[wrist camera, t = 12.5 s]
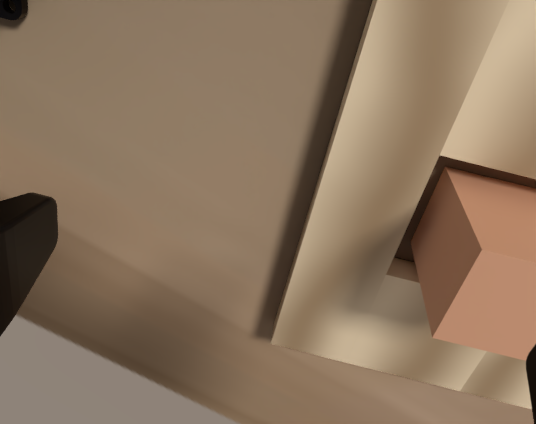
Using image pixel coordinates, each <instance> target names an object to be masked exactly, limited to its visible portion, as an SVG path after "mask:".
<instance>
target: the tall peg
mask: <svg viewBox="0 0 536 424" xmlns="http://www.w3.org/2000/svg"><path fill="white" fill-rule="evenodd" d="M411 246H412V251H413V255H414V260H415V264H416V268H417V273H418V277H419V282H420V286H421V290H422V295H423V299H424V304H425V308H426V312H427V317H428V321H429V325H430V330H431V334H432V338H435V339H439V340H443V341H447V342H451V343H455V344H459V345H464V346H468V347H472V348H476V349H480V350H484V351H488V352H492V353H496V354H500V355H504V356H508V357H512V358H517V359H521V360H525V361H526V359H527V356H528V354H529V352H530V351H531V349H532V348H533V347H534V345H535V344H536V189H535V188H531V187H527V186H523V185H519V184H515V183H511V182H507V181H503V180H498V179H494V178H490V177H486V176H482V175H478V174H474V173H470V172H466V171H462V170H458V169H454V168H450V167H446V166H445V168H444V170H443V172H442V174H441V176H440V179H439V181H438V183H437V185H436V187H435V190H434V192H433V194H432V196H431V198H430V201H429V203H428V205H427V207H426V209H425V212H424V214H423V216H422V218H421V220H420V222H419V225H418V227H417V229H416V231H415V233H414V236H413V238H412V240H411Z"/></svg>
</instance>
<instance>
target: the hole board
mask: <svg viewBox="0 0 536 424" xmlns="http://www.w3.org/2000/svg"><path fill="white" fill-rule="evenodd" d="M439 155H441V156H445V157H449V158H453V159H457V160H461V161H465V162H468V163H472V164H476V165H480V166H484V167H488V168H492V169H496V170H500V171H504V172H508V173H512V174H516V175H520V176H524V177H528V178H532V179H536V0H373V1H372V4H371V7H370V11H369V14H368V17H367V20H366V24H365V27H364V30H363V34H362V37H361V40H360V43H359V47H358V50H357V53H356V56H355V60H354V63H353V66H352V70H351V73H350V76H349V79H348V83H347V86H346V89H345V93H344V96H343V99H342V102H341V106H340V109H339V112H338V115H337V119H336V122H335V125H334V129H333V132H332V135H331V138H330V142H329V145H328V148H327V152H326V155H325V158H324V161H323V165H322V168H321V171H320V174H319V178H318V181H317V184H316V188H315V191H314V194H313V197H312V201H311V204H310V207H309V211H308V214H307V217H306V220H305V224H304V227H303V230H302V233H301V237H300V240H299V243H298V247H297V250H296V253H295V256H294V260H293V263H292V266H291V269H290V273H289V276H288V279H287V283H286V286H285V289H284V292H283V296H282V299H281V302H280V306H279V309H278V312H277V315H276V319H275V322H274V327H273V333H272V339H271V344H273V345H277V346H281V347H285V348H289V349H293V350H297V351H301V352H305V353H309V354H313V355H317V356H321V357H325V358H329V359H333V360H337V361H341V362H345V363H349V364H353V365H357V366H361V367H365V368H369V369H373V370H377V371H381V372H385V373H389V374H393V375H397V376H401V377H405V378H409V379H413V380H417V381H421V382H425V383H429V384H433V385H437V386H441V387H445V388H449V389H453V390H457V391H461V392H465V393H469V394H473V395H477V396H481V397H485V398H489V399H493V400H497V401H501V402H505V403H509V404H513V405H517V406H521V407H525V408H529V409H532V406H531V399H530V392H529V386H528V379H527V373H526V361H525V360H521V359H517V358H512V357H508V356H504V355H500V354H496V353H492V352H488V351H484V350H480V349H476V348H472V347H468V346H464V345H459V344H455V343H451V342H447V341H443V340H439V339H435V338H432V334H431V330H430V325H429V321H428V317H427V312H426V308H425V304H424V299H423V295H422V290H421V286H420V282H419V277H418V273H417V268H416V264H415V263H414V262H410V261H406V260H402V259H398V258H394V256H395V253H396V251H397V249H398V247H399V245H400V242H401V240H402V238H403V236H404V233H405V231H406V229H407V227H408V224H409V222H410V220H411V218H412V216H413V213H414V211H415V209H416V207H417V204H418V202H419V200H420V198H421V196H422V193H423V191H424V189H425V187H426V184H427V182H428V180H429V178H430V175H431V173H432V171H433V169H434V167H435V164H436V162H437V160H438V158H439Z"/></svg>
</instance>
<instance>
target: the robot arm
mask: <svg viewBox="0 0 536 424" xmlns="http://www.w3.org/2000/svg"><path fill="white" fill-rule="evenodd" d="M11 1H13V3H14V4H15V7H16V10H15V11H13V10H12V9H11V8H10V5H9V0H0V18H4V19H8V20H17V19H21V18H23V17H25V15H26V14H27V11H28V2H27V0H11ZM57 239H58V220H57V204H56V201H55V200H54V199H53V198H52V197H49V196H45V195H41V194H37V193H27V194H24V195H20V196H17V197H13V198H10V199H6V200H3V201H0V336H1V334H2V333H3V332H4V331H5V329H6V328H7V326H8V325H9V324H10V322H11V321H12V319H13V318H14V316H15V315H16V313H17V312H18V310H19V308H20V307H21V305H22V303H23V302H24V300H25V298H26V297H27V295H28V293H29V291H30V290H31V288H32V286H33V285H34V283H35V281H36V279H37V278H38V276H39V274H40V273H41V271H42V269H43V267H44V266H45V264H46V262H47V261H48V259H49V257H50V255H51V254H52V252H53V250H54V248H55V246H56V243H57ZM526 373H527V379H528V386H529V392H530V399H531V406H532V412H533V419H534V424H536V344H535V345H534V347H533V348H532V349H531V351H530V352H529V354H528V356H527V359H526Z"/></svg>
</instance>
